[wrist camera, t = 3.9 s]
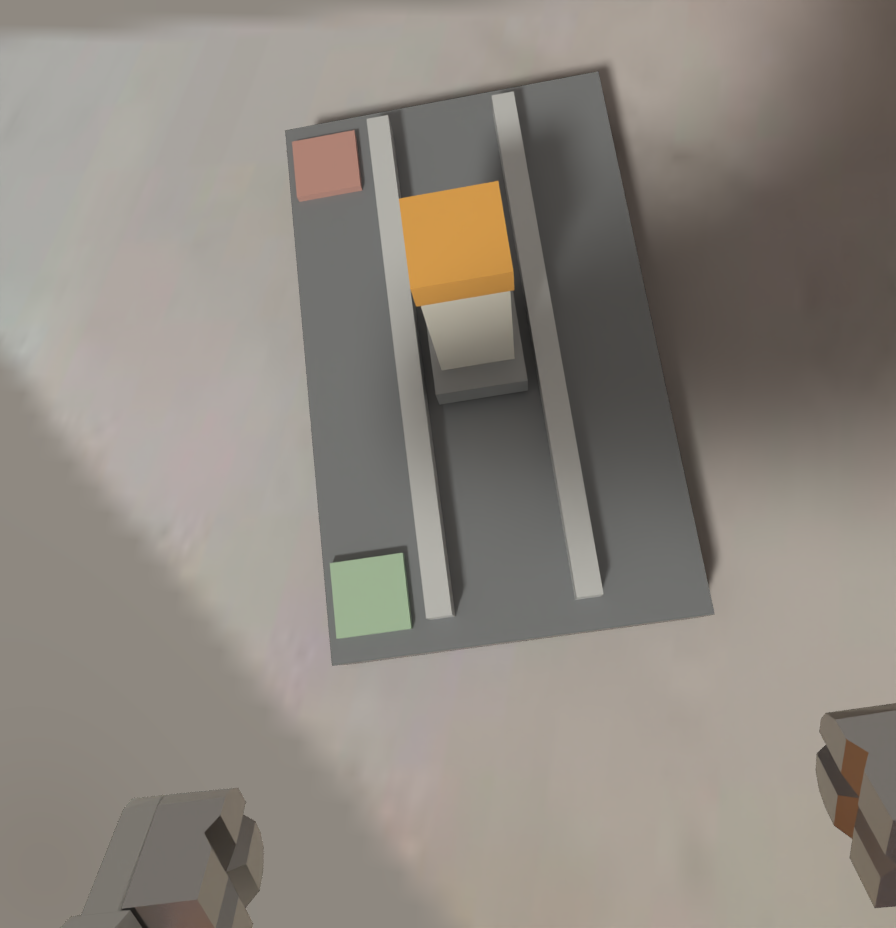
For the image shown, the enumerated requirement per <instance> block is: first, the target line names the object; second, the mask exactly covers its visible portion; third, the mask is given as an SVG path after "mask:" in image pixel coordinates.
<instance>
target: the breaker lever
mask: <svg viewBox="0 0 896 928" xmlns="http://www.w3.org/2000/svg"><path fill="white" fill-rule="evenodd" d="M399 205H400V212H401V220H402V228H403V236H404V244H405V251H406V259H407V267H408V275H409V283H410V290H411V293H412V296H413V299H414V302H415V304H416V307H418V306H421V309H422V312H423V315H424V318H425V321H426V326H427V333H428V341H429V348H430V356H431V363H432V371H433V378H434V386H435V394H436V397H437V400H438V402H439V405H440V404H446V403H453V402H459V401H465V400H472V399H478V398H484V397H490V396H497V395H503V394H509V393H516V392H522V391H528V379H527V373H526V367H525V361H524V355H523V349H522V343H521V337H520V331H519V325H518V319H517V313H516V307H515V301H514V295H513V290H514V272H513V266H512V260H511V254H510V248H509V242H508V236H507V230H506V224H505V218H504V212H503V206H502V200H501V194H500V188H499V182H498V181H494V182H489V183H483V184H478V185H472V186H466V187H461V188H455V189H450V190H444V191H439V192H433V193H427V194H422V195H416V196H411V197H405V198H400V199H399Z"/></svg>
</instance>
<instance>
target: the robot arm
mask: <svg viewBox="0 0 896 928" xmlns="http://www.w3.org/2000/svg"><path fill="white" fill-rule="evenodd" d="M819 732H820V734H821V736H822V738H823V740H824V742H825V744H826V745H825V746H824V747H823V748H822V749H821V750H820V751H819V752H818V753H817V756H816V776H817V781H818V787H819V791H820V794H821V797H822V800H823V803H824V805H825V808H826V810H827V812H828V814H829V816H830V819H831V821H832V823H833V825H834V826H835V827H837V828H838V829H839V830H841V831H842V832H843V833H845V834H846V835H848V836H849V837H850V838H852V844H851V851H850V860H851V862H852V864H853V866H854V868H855V870H856V872H857V874H858V876H859V878H860V880H861V882H862V884H863V886H864V888H865V890H866V892H867V894H868V896H869V898H870V900H871V902H872V904H873V906H874V908H882V907H895V906H896V703H893V704H886V705H879V706H872V707H864V708H857V709H850V710H843V711H836V712H829V713H825V714H824V716H823V717H822V718H821V722H820V730H819ZM245 804H246V801H245V799H244V797H243V796H242V794H241V792H240V790H239V788H230V789H220V790H209V791H199V792H190V793H179V794H169V795H159V796H151V797H142V798H134V799H131V801H130V802H129V803H128V804H127V806H126V807H125V808H124V809H123V811H122V813H121V816H120V818H119V821H118V823H117V826H116V828H115V831H114V833H113V836H112V838H111V841H110V844H109V846H108V848H107V851H106V854H105V856H104V858H103V861H102V864H101V866H100V868H99V871H98V873H97V876H96V879H95V881H94V884H93V886H92V889H91V891H90V894H89V896H88V899H87V901H86V904H85V906H84V909H83V911H82V914H81V915H77V916H71V917H70V918H69V919H68V920H67V921H66V922H65V923H64V924H63V925H62V926H61V927H60V928H252V926H253V923H252V920H251V919H250V916H249V914H248V912H247V910H246V907H247V906H248V904H249V903H250V902H251V901H252V899H253V898H254V897H255V896H256V895H257V893H258V892H259V891H260V886H261V880H262V875H263V863H264V859H263V858H264V853H263V852H264V851H263V850H264V847H263V842H262V837H261V832H260V830H259V828H258V826H257V824H256V822H255V821H254V820H252V819H250V818H249V817H247V816H245V815H243V813H244V809H245Z"/></svg>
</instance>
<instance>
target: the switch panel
mask: <svg viewBox="0 0 896 928" xmlns="http://www.w3.org/2000/svg"><path fill="white" fill-rule="evenodd" d="M285 134H286V145H287V157H288V168H289V180H290V191H291V203H292V214H293V226H294V237H295V248H296V260H297V271H298V283H299V294H300V306H301V317H302V329H303V340H304V351H305V363H306V374H307V386H308V397H309V409H310V420H311V432H312V443H313V455H314V466H315V477H316V489H317V500H318V512H319V523H320V535H321V546H322V558H323V569H324V580H325V592H326V603H327V615H328V626H329V638H330V649H331V661H332V666H336V665H348V664H356V663H363V662H371V661H378V660H386V659H393V658H400V657H408V656H415V655H423V654H430V653H438V652H445V651H453V650H460V649H467V648H475V647H482V646H490V645H497V644H505V643H512V642H519V641H527V640H534V639H542V638H549V637H557V636H564V635H571V634H579V633H586V632H594V631H601V630H609V629H616V628H623V627H631V626H638V625H646V624H653V623H661V622H668V621H675V620H683V619H690V618H698V617H704V616H708V615H713V614H714V609H713V605H712V600H711V595H710V591H709V586H708V581H707V577H706V572H705V567H704V563H703V558H702V553H701V549H700V544H699V539H698V535H697V530H696V525H695V521H694V516H693V511H692V507H691V502H690V497H689V493H688V488H687V483H686V479H685V474H684V469H683V465H682V460H681V455H680V450H679V446H678V441H677V436H676V432H675V427H674V422H673V418H672V413H671V408H670V404H669V399H668V394H667V390H666V385H665V380H664V376H663V371H662V366H661V362H660V357H659V352H658V348H657V343H656V338H655V334H654V329H653V324H652V320H651V315H650V310H649V306H648V301H647V296H646V292H645V287H644V282H643V278H642V273H641V268H640V264H639V259H638V254H637V250H636V245H635V240H634V236H633V231H632V226H631V222H630V217H629V212H628V208H627V203H626V198H625V194H624V189H623V184H622V180H621V175H620V170H619V166H618V161H617V156H616V152H615V147H614V142H613V137H612V133H611V128H610V123H609V119H608V114H607V109H606V105H605V100H604V95H603V91H602V86H601V81H600V77H599V72H592V73H587V74H582V75H576V76H571V77H566V78H560V79H555V80H550V81H545V82H539V83H534V84H529V85H523V86H518V87H513V88H507V89H502V90H497V91H492V92H486V93H481V94H476V95H470V96H465V97H460V98H454V99H449V100H444V101H439V102H433V103H428V104H423V105H417V106H412V107H407V108H401V109H396V110H391V111H385V112H380V113H375V114H370V115H364V116H359V117H354V118H348V119H343V120H338V121H332V122H327V123H322V124H317V125H311V126H306V127H301V128H295V129H290V130H285ZM494 181H498V182H499V188H500V194H501V200H502V206H503V212H504V218H505V224H506V230H507V236H508V242H509V248H510V254H511V260H512V266H513V272H514V290H513V295H514V301H515V307H516V313H517V319H518V325H519V331H520V337H521V343H522V349H523V355H524V361H525V367H526V373H527V379H528V391H522V392H516V393H509V394H503V395H497V396H490V397H484V398H478V399H472V400H465V401H459V402H453V403H446V404H440V405H439V402H438V400H437V397H436V394H435V386H434V378H433V371H432V363H431V356H430V348H429V341H428V333H427V326H426V321H425V318H424V315H423V312H422V309H421V306H418V307H416V304H415V302H414V299H413V296H412V293H411V290H410V283H409V275H408V267H407V259H406V251H405V244H404V236H403V228H402V220H401V212H400V205H399V199H400V198H405V197H411V196H416V195H422V194H427V193H433V192H439V191H444V190H450V189H455V188H461V187H466V186H472V185H478V184H483V183H489V182H494Z"/></svg>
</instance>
